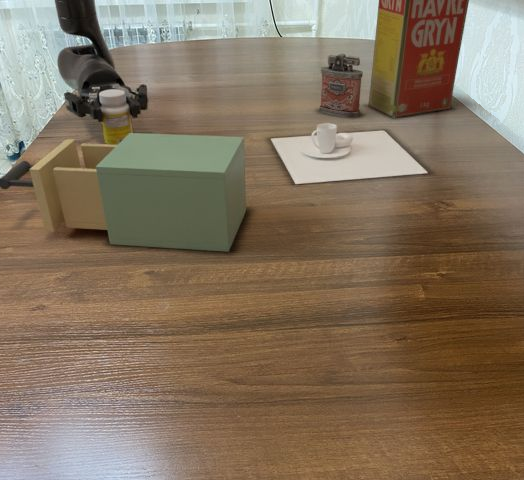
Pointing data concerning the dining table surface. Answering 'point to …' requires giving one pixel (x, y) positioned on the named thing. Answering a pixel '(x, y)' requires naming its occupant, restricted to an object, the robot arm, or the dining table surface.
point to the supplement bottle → (115, 116)
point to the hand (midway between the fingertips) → (117, 113)
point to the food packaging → (416, 55)
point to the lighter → (341, 86)
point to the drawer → (65, 185)
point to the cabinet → (174, 191)
